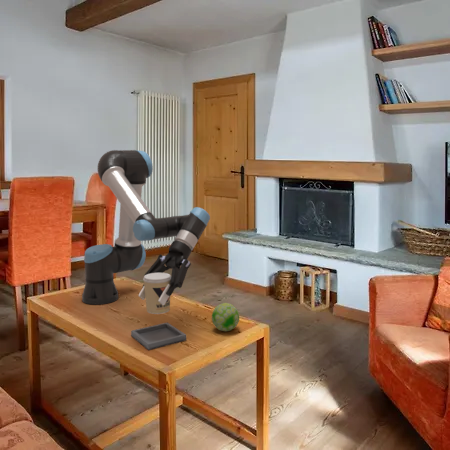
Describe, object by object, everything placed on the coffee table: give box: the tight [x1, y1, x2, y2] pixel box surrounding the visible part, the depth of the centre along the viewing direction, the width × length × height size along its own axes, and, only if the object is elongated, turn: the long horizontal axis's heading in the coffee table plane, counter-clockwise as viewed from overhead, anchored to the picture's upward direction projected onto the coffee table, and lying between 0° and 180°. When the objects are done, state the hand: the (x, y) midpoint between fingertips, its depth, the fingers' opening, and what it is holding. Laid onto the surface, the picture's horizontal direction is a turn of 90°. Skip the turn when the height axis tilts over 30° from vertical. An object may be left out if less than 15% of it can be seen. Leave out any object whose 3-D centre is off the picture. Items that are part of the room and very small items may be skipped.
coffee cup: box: [142, 272, 171, 315], centre depth 155 cm, size 9×9×12 cm
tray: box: [130, 322, 187, 351], centre depth 157 cm, size 14×14×2 cm
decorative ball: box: [211, 302, 240, 332], centre depth 164 cm, size 10×10×10 cm
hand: (150, 300), depth 153 cm, fingers closed on coffee cup, 9 cm apart
